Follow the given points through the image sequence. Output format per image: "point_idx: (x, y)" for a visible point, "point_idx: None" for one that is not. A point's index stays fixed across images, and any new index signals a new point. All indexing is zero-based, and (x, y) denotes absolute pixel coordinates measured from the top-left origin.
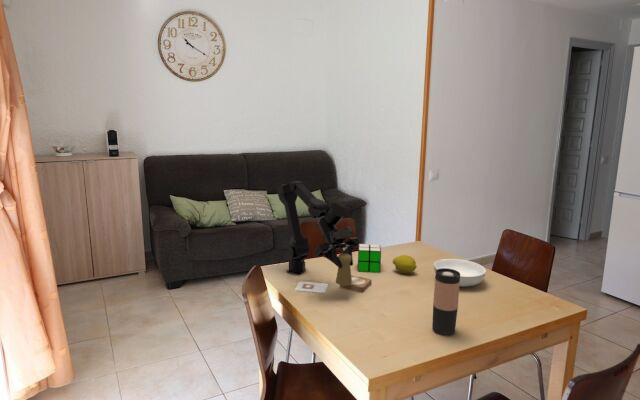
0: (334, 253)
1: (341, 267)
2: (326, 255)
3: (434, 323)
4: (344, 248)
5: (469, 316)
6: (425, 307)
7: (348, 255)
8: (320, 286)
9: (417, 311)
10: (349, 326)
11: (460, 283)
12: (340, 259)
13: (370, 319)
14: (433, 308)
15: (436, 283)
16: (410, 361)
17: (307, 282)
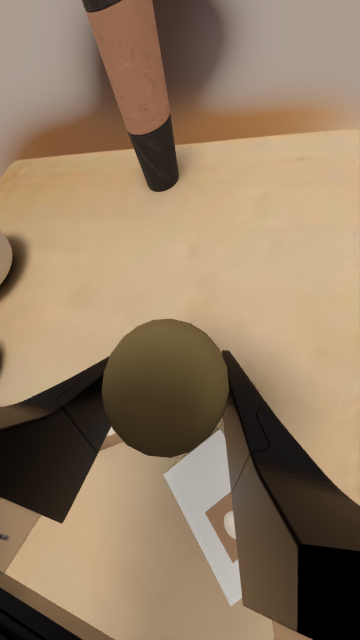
0: (303, 486)
1: (225, 351)
2: (355, 619)
3: (174, 163)
4: (2, 539)
5: (100, 193)
6: (113, 237)
7: (143, 340)
8: (197, 481)
9: (136, 233)
10: (289, 249)
11: (7, 241)
12: (226, 372)
13: (228, 250)
14: (165, 133)
15: (146, 7)
16: (275, 140)
17: (210, 562)
